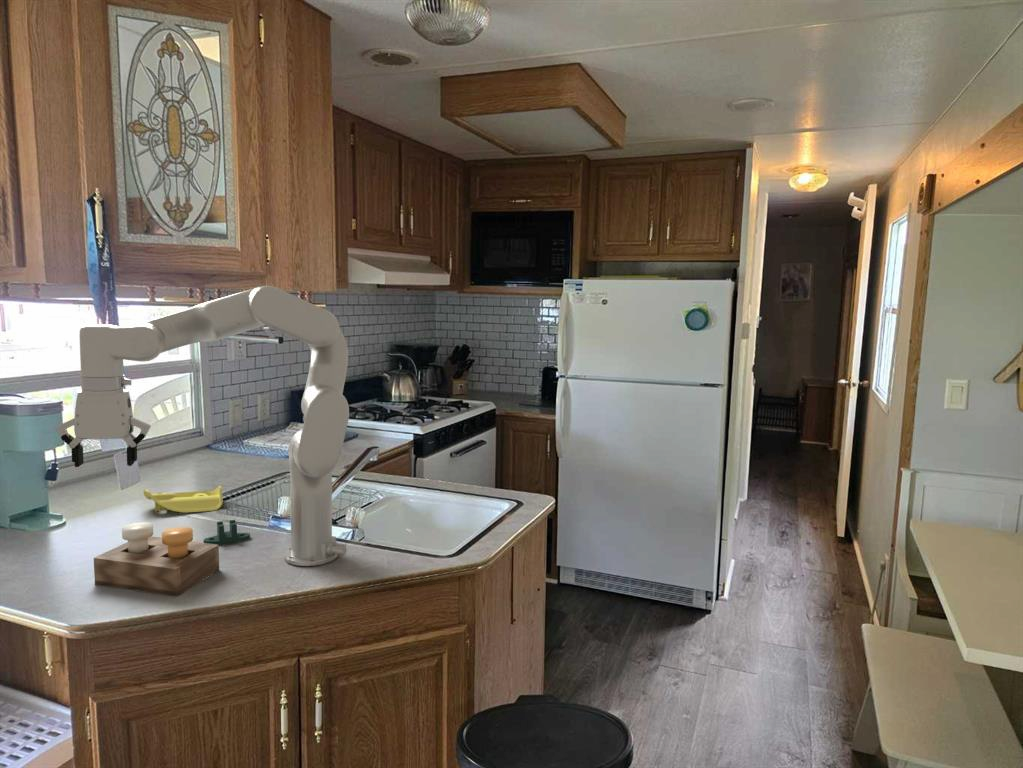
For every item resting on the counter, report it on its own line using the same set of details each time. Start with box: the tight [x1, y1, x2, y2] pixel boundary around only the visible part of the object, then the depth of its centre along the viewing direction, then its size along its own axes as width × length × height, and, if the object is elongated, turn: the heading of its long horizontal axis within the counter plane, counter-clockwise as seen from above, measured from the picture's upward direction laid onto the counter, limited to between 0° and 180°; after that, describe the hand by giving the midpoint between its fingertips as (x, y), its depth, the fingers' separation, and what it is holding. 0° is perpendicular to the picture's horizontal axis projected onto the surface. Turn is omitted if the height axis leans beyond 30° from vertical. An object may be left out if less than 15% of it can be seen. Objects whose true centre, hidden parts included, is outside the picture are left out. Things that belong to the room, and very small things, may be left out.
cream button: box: [121, 521, 154, 554], centre depth 148 cm, size 6×6×6 cm
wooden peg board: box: [93, 535, 220, 597], centre depth 148 cm, size 20×14×6 cm
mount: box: [203, 519, 251, 546], centre depth 170 cm, size 11×4×5 cm, turn 119°
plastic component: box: [143, 485, 224, 514], centre depth 193 cm, size 20×7×10 cm
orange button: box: [161, 526, 194, 559], centre depth 146 cm, size 6×6×6 cm
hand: (105, 464), depth 141 cm, fingers open, 9 cm apart
